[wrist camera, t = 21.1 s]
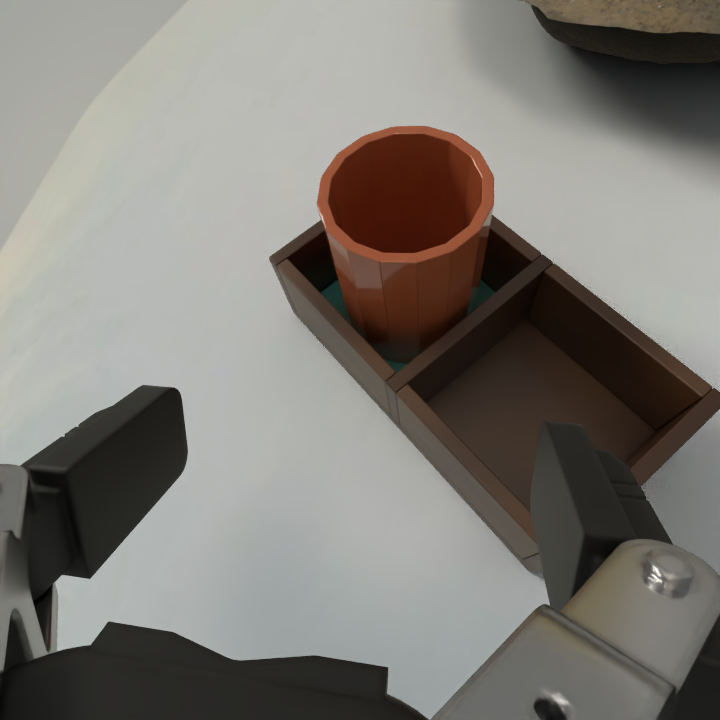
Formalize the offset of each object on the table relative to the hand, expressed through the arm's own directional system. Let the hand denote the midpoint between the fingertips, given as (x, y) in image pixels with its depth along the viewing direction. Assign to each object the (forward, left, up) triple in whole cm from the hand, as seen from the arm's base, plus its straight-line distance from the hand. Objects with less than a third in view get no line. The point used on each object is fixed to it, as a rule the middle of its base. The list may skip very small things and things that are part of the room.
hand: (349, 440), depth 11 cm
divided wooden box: (-3, +7, -12) cm, 14 cm away
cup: (-6, +7, -11) cm, 15 cm away
